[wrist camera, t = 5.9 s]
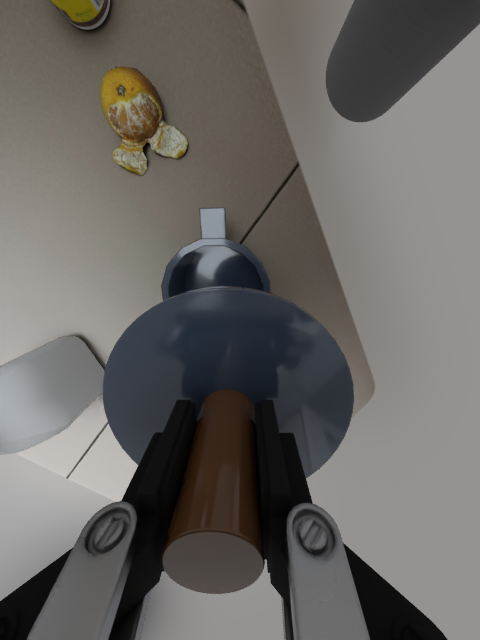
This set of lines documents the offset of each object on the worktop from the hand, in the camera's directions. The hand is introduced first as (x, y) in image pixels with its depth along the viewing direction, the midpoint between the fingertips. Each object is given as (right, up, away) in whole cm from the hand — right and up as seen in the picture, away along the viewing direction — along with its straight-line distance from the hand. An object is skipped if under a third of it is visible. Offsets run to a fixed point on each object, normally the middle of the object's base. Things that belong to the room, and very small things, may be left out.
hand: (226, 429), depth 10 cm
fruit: (-10, +25, +16) cm, 31 cm away
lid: (0, +1, +2) cm, 2 cm away
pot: (-2, +10, +20) cm, 22 cm away
